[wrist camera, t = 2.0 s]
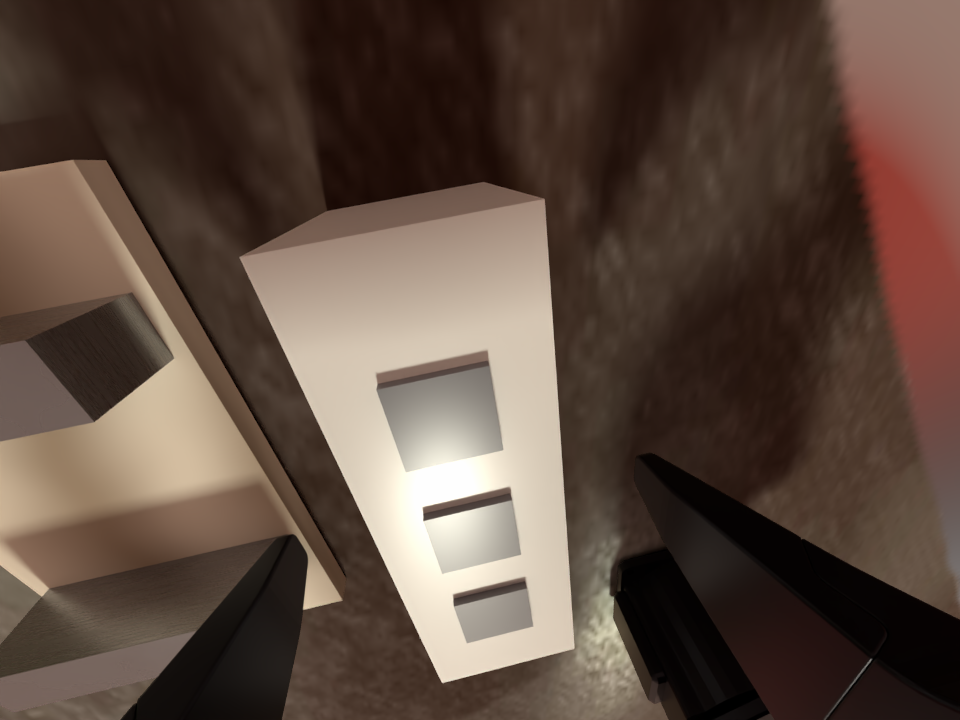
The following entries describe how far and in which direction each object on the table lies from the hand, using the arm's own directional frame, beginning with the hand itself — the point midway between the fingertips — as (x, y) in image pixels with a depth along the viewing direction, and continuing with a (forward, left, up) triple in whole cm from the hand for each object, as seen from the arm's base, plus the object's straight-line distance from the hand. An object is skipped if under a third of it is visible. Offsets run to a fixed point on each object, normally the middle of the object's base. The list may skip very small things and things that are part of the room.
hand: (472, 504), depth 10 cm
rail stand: (+12, 0, -5) cm, 13 cm away
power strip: (0, 0, -5) cm, 5 cm away
